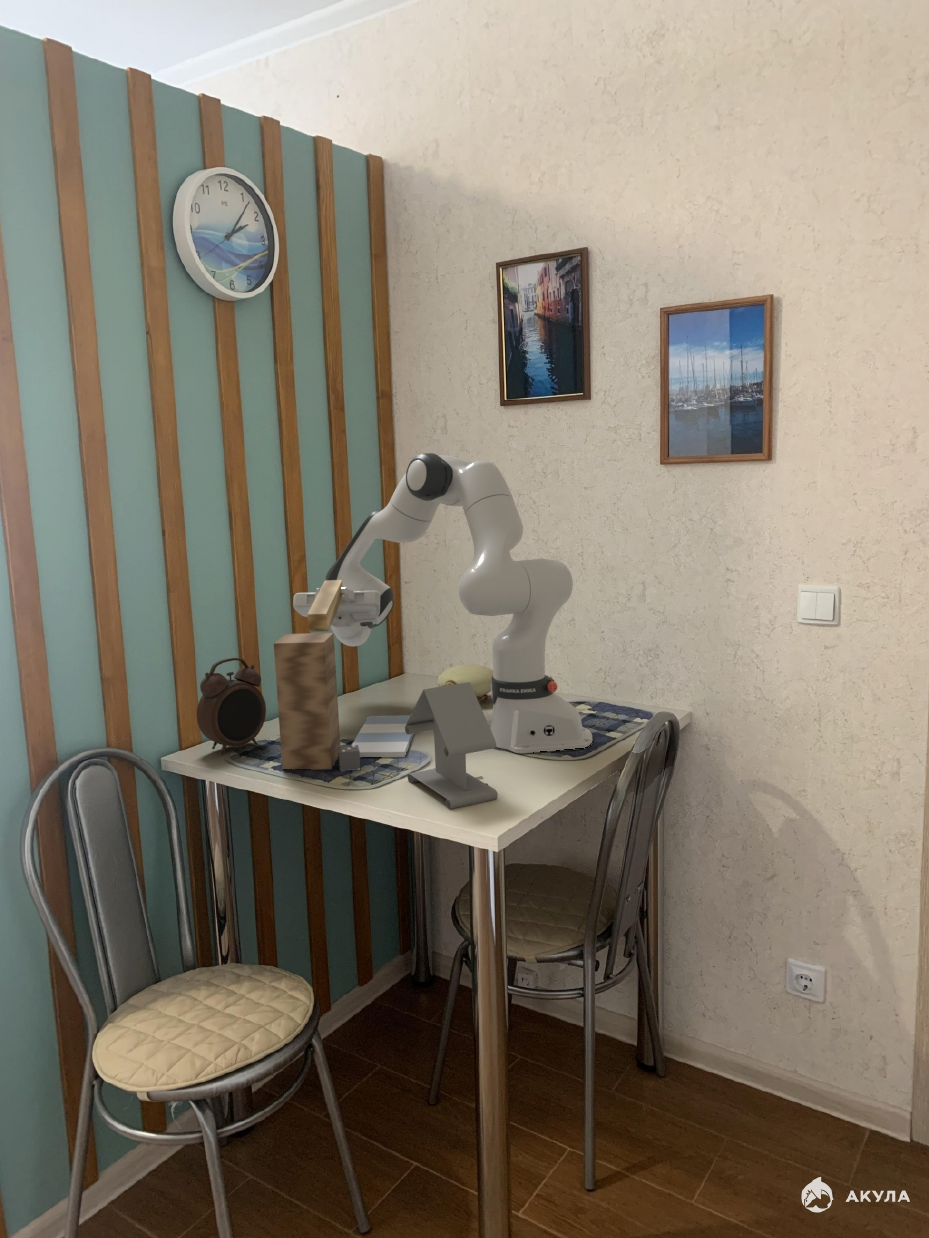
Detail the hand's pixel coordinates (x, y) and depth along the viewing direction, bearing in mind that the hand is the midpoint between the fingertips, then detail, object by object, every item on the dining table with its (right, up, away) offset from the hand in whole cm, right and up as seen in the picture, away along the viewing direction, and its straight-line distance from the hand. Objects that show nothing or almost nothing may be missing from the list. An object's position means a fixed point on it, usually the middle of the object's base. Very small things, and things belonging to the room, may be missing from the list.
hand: (331, 590), depth 213 cm
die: (+7, -36, -23) cm, 44 cm away
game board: (+13, -33, -4) cm, 35 cm away
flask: (+30, -28, +25) cm, 48 cm away
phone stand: (+28, -38, -38) cm, 61 cm away
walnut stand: (-1, -36, -19) cm, 40 cm away
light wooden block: (0, -5, -5) cm, 7 cm away
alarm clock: (-20, -35, -8) cm, 41 cm away
